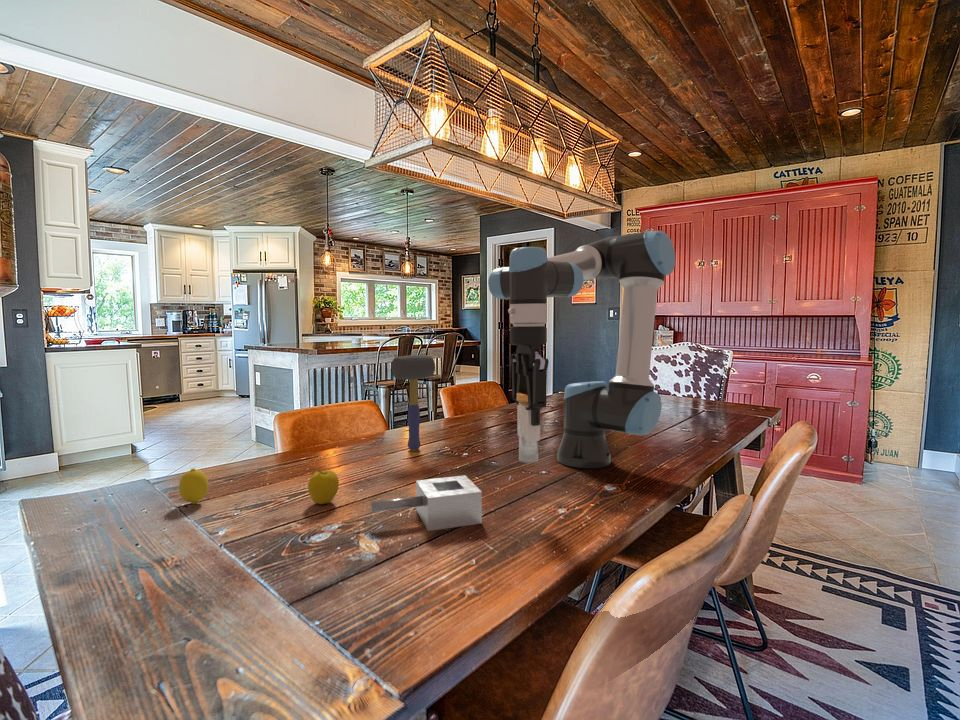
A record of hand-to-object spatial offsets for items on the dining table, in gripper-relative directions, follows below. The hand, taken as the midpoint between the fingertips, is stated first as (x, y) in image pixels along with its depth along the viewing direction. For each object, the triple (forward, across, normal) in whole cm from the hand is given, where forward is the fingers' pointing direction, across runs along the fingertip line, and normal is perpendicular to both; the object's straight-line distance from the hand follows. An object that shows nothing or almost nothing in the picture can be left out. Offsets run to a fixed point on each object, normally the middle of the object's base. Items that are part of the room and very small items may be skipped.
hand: (528, 437), depth 101 cm
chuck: (+16, -4, -22) cm, 27 cm away
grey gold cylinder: (+5, 0, 0) cm, 5 cm away
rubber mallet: (+17, -58, -13) cm, 61 cm away
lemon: (+15, -29, -68) cm, 75 cm away
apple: (+16, -20, -41) cm, 48 cm away
